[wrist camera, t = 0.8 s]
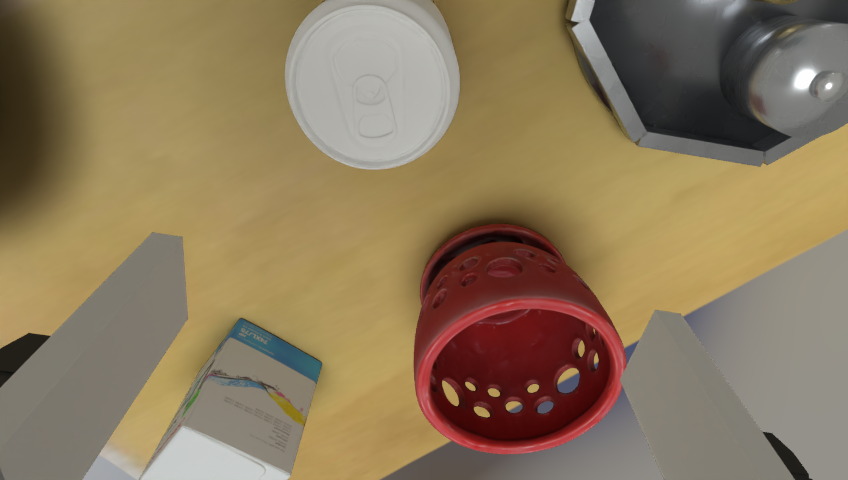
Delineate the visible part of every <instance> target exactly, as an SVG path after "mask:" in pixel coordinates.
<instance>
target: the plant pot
mask: <svg viewBox="0 0 848 480" xmlns="http://www.w3.org/2000/svg"><path fill="white" fill-rule="evenodd" d="M420 298H421V304H422V307H421V311H420V316H419V320H418V324H417V328H416V334H415V345H414V380H415V389H416V396H417V399H418V403H419V406H420V408H421V410H422V412H423V414H424V416H425V417H426V419H427V420H428V421H429V422H430V423H431V425H432V426H433V427H434V428H435V429H436V430H437V431H439V432H440V433H441V434H442V435H444V436H445V437H447V438H448V439H450V440H452V441H453V442H455V443H457V444H460V445H462V446H465V447H467V448H471V449H473V450H478V451H482V452H488V453H496V454H521V453H530V452H536V451H541V450H545V449H549V448H552V447H556V446H558V445H561V444H563V443H566V442H568V441H570V440H572V439H574V438H576V437H578V436H580V435H581V434H583V433H585V432H586V431H588V430H589V429H591V428H592V427H593V426H594V425H595V424H597V423H598V422H599V421H600V420H601V419H602V418H603V417H604V416H605V415H606V414H607V412H609V411H610V409H611V408H612V407H613V405H614V404H615V402H616V400H617V398H618V397H619V395H620V392H621V390H622V387H623V386H622V384H621V381H620V378H621V376H622V374H623V372H624V370H625V368H626V355H625V350H624V346H623V343H622V341H621V339H620V337H619V335H618V333H617V331H616V329H615V327H614V325H613V323H612V321H611V319H610V318H609V316H608V314H607V313H606V311H605V310H604V308H603V307H602V305H601V304H600V302H599V301H598V299H597V297H596V296H595V295H594V293H593V292H592V291H591V289H590V288H589V287H588V286H587V285H586V283H585V282H584V281H583V280H582V279H581V278H580V277H579V276H578V275H577V274H576V273H575V272H574V271H573V270H572V269H571V268H570V267H569V266H567V265H566V263H565V261H564V259H563V257H562V255H561V254H560V253H559V251H558V250H557V249H556V247H555V246H554V245H553V244H552V243H551V242H550V241H548V240H547V239H546V238H545V237H543V236H542V235H540V234H538V233H536V232H534V231H532V230H530V229H527V228H524V227H521V226H517V225H509V224H490V225H484V226H479V227H475V228H472V229H469V230H467V231H464V232H462V233H460V234H458V235H456V236H455V237H453V238H452V239H450V240H449V241H447V242H446V243H445V244H444V245H443V246H442V247H441V248H440V249H439V250H438V251H437V252H436V253H435V254H434V255H433V257H432V258H431V259H430V261H429V263H428V264H427V266H426V268H425V270H424V273H423V276H422V280H421V286H420ZM593 328H594V329H595V334H594V331H593ZM581 340H582V341H583V342H584V345H585V352H584V354H583V356H582V357H580V356H579V353H578V346H579V343H580V341H581ZM596 352H597V354H598V359H599V363H598V367H597V369H595V366H594V356H595V354H596ZM570 368H576V369H578V371H579V374H580V379H579V384H578V386H577V387H576V389H575V390H573V391H572V392H570V393H561V392H559V391H558V388H557V382H558V379H559V377H560V376H561V375H562V373H563V372H564V371H566V370H567V369H570ZM442 380H444V381H446V382H447V383H448V384H450V385H451V386H452V387H453V389H454V390H455V392H456V393H457V395H458V398H459V405H458V406H454V405H453V404H451V403H450V402H449V400H448V399H447V397H446V395H445V393H444V390H443V387H442ZM465 382H470V383H472V384H473V385H474V386H475V388H476V391H471V390H469V389H468V388H467V387H466V386H465ZM532 384H538V385H539V389H538V391H537V392H534V393H529V392H528V391H527V388H528V387H529V386H530V385H532ZM490 388H495V389H497V390H498V391H499V392H500V396H498V397H492V396H490V395H489V393H488V389H490ZM511 401H517V402H520V403H521V404H522V405H523V408H522V410H521V411H520V412H518V413H510V412H508V411H507V410H506V407H505V405H506V404H507V403H508V402H511ZM545 401H551V402H553V404H554V405H553V408H552V409H551V410H550V411H549V412H547V413H544V414H540V413H538V412H537V408H538V406H539V405H540V404H541V403H543V402H545ZM476 406H479V407H483V408H485V409H486V410H487V411H488V412H489V413H490V417H488V418H486V417H481V416H478V415H477V414H476V413H475V411H474V407H476Z"/></svg>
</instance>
